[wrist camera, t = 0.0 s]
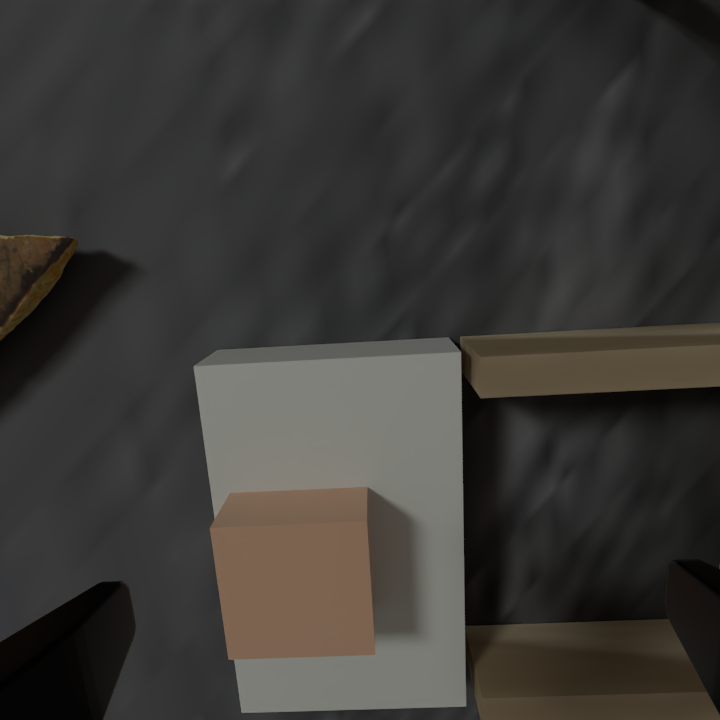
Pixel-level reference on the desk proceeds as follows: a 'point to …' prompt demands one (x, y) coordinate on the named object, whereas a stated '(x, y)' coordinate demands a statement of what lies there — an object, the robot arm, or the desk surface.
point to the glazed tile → (295, 573)
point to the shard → (29, 273)
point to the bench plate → (385, 497)
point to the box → (601, 638)
